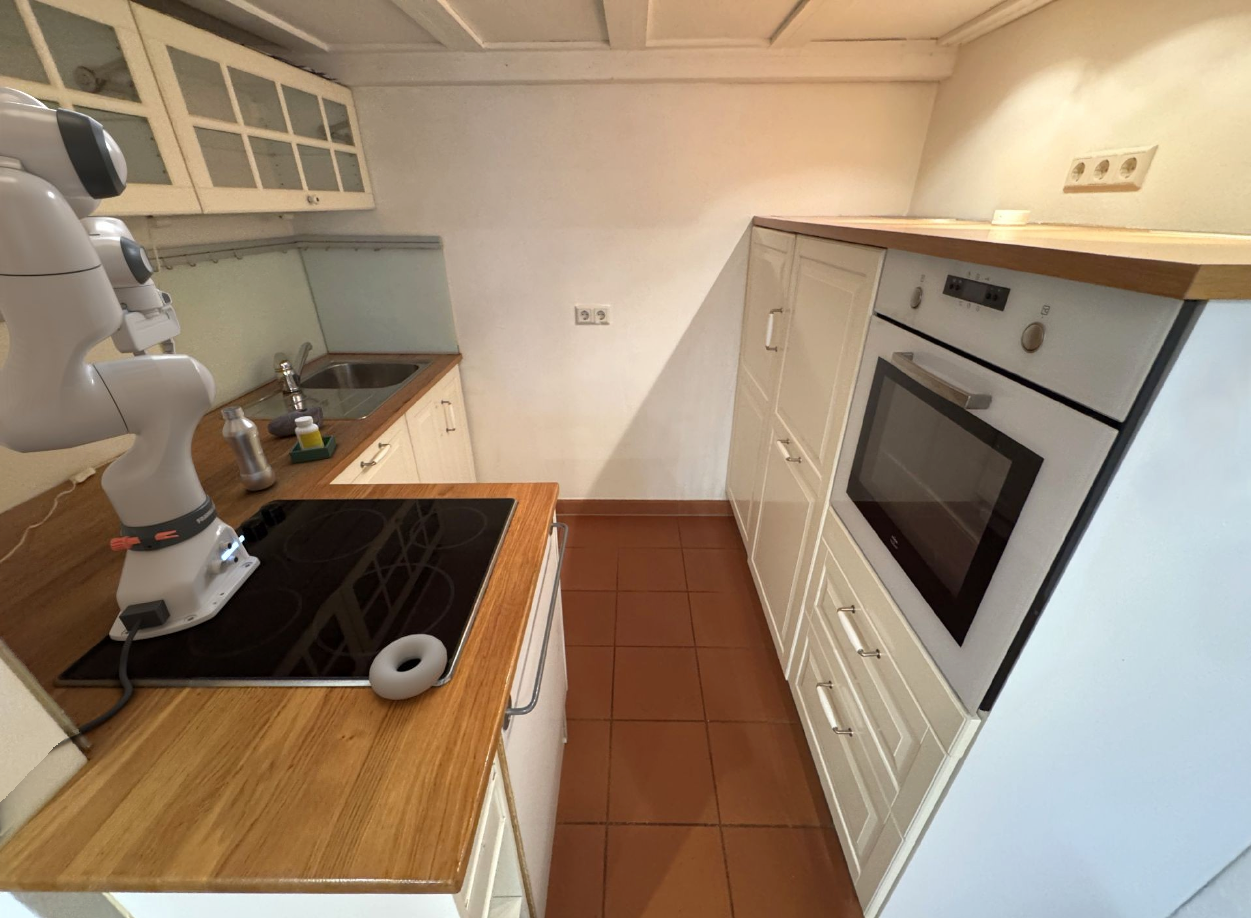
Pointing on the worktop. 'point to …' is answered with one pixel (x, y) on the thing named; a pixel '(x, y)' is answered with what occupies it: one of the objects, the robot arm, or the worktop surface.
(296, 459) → the tray
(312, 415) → the perforated stone tool
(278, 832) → the worktop surface
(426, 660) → the donut
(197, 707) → the worktop surface
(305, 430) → the supplement bottle
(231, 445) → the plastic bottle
